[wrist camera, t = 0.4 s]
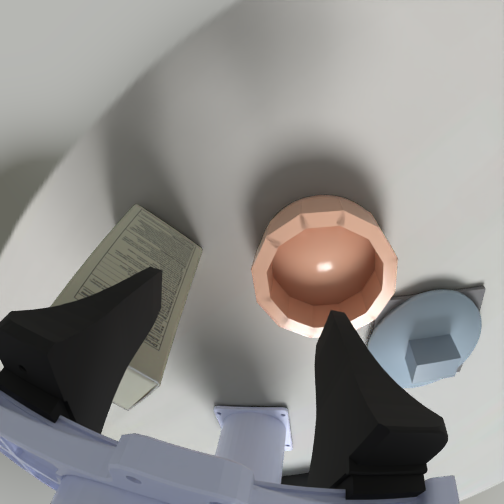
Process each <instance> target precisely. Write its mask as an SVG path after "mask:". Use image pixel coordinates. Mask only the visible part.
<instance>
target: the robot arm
mask: <svg viewBox="0 0 504 504" xmlns="http://www.w3.org/2000/svg"><path fill="white" fill-rule="evenodd" d="M162 272H163V270H160V269H156V268H153V267H148V268H146V269H144V270H142V271H140V272H138V273H136V274H134V275H132V276H131V277H129V278H127V279H125V280H123V281H121V282H119V283H117V284H115V285H113V286H111V287H109V288H107V289H104V290H102V291H100V292H98V293H96V294H93V295H91V296H88V297H85V298H82V299H79V300H76V301H73V302H69V303H65V304H62V305H58V306H53V307H48V308H42V309H35V310H23V311H11V312H10V313H9V314H8V315H7V316H6V317H5V318H4V319H3V320H2V321H1V322H0V360H1V362H2V364H3V366H4V368H3V369H2V370H1V372H0V452H2V453H3V454H4V455H5V456H6V457H8V458H9V459H10V460H12V461H13V462H14V463H16V464H17V465H18V466H20V467H21V468H23V469H24V470H25V471H27V472H28V473H30V474H31V475H32V476H34V477H35V478H37V479H38V480H40V481H41V482H43V483H45V484H46V485H48V486H49V487H51V488H52V489H54V490H56V493H55V495H54V497H53V499H52V501H51V503H50V504H460V503H459V497H458V492H457V486H456V481H455V476H453V475H451V476H443V477H435V478H430V479H427V480H425V481H424V475H423V474H425V473H426V472H427V464H426V463H427V462H428V461H430V460H431V459H432V458H433V457H434V456H435V455H437V454H438V453H439V452H440V451H441V450H442V449H443V448H444V447H445V445H446V443H447V441H448V434H447V431H446V427H445V424H444V420H443V418H442V417H441V416H439V415H437V414H436V413H434V412H433V411H431V410H430V409H428V408H426V407H425V406H424V405H422V404H421V403H420V402H418V401H417V400H416V399H414V398H413V397H412V396H411V395H409V394H408V393H407V392H406V391H405V390H404V389H403V388H402V387H401V386H399V385H398V384H397V383H396V382H395V381H394V380H393V379H392V378H391V377H390V376H389V374H388V373H387V372H386V371H385V370H384V369H383V368H382V367H381V365H380V364H379V363H378V362H377V360H376V359H375V358H374V356H373V355H372V354H371V352H370V351H369V349H368V348H367V347H366V345H365V344H364V342H363V341H362V339H361V338H360V336H359V335H358V333H357V331H356V330H355V328H354V327H353V325H352V323H351V322H350V320H349V319H348V317H347V315H346V314H345V312H340V311H335V310H331V311H330V313H329V316H328V318H327V321H326V323H325V325H324V328H323V330H322V333H321V335H320V337H319V340H318V342H317V345H316V354H315V386H316V426H315V436H314V444H313V452H312V459H311V465H310V471H309V476H308V481H307V486H306V487H302V486H292V485H284V484H281V478H282V469H283V460H284V451H290V450H292V449H293V446H292V438H291V430H290V423H289V415H288V409H287V408H285V407H232V406H215V407H214V412H215V415H216V417H217V420H218V422H219V424H220V427H221V429H222V430H221V434H220V438H219V442H218V446H217V450H216V454H215V456H214V455H210V454H206V453H202V452H198V451H195V450H191V449H187V448H184V447H180V446H177V445H174V444H171V443H167V442H164V441H161V440H158V439H155V438H152V437H149V436H145V435H140V434H136V433H133V434H125V435H122V436H121V438H120V440H119V442H118V441H116V440H113V439H111V438H108V437H106V436H104V435H101V432H102V429H103V426H104V423H105V420H106V417H107V414H108V412H109V409H110V406H111V404H112V401H113V399H114V396H115V394H116V391H117V389H118V387H119V384H120V382H121V380H122V378H123V376H124V373H125V371H126V369H127V367H128V366H129V364H130V362H131V360H132V359H133V357H134V356H135V354H136V353H137V351H138V349H139V348H140V346H141V345H142V343H143V342H144V340H145V338H146V337H147V335H148V334H149V332H150V330H151V329H152V327H153V325H154V323H155V321H156V319H157V317H158V314H159V312H160V310H161V300H162Z"/></svg>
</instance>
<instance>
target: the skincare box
mask: <svg viewBox="0 0 504 504" xmlns="http://www.w3.org/2000/svg"><path fill="white" fill-rule="evenodd" d="M201 254H202V248H201V247H199V246H198V245H196V244H195V243H194V242H192V241H191V240H189V239H188V238H187V237H185V236H184V235H182V234H181V233H179V232H178V231H177V230H175V229H174V228H172V227H171V226H169V225H168V224H166V223H165V222H164V221H162V220H161V219H159V218H157V217H156V216H155V215H153V214H151V213H150V212H148V211H147V210H145V209H144V208H142V207H141V206H139V205H138V204H135V205H134V206H133V207H132V208H131V209H130V210H129V211H128V212H127V213H126V215H125V216H124V217H123V218H122V219H121V220H120V221H119V222H118V223H117V225H116V226H115V227H114V228H113V229H112V230H111V231H110V233H109V234H108V235H107V236H106V237H105V238H104V239H103V241H102V242H101V243H100V244H99V245H98V247H97V248H96V249H95V250H94V251H93V253H92V254H91V255H90V256H89V257H88V259H87V260H86V261H85V262H84V264H83V265H82V266H81V267H80V269H79V270H78V271H77V272H76V274H75V275H74V276H73V277H72V279H71V280H70V281H69V283H68V284H67V285H66V287H65V288H64V289H63V290H62V292H61V293H60V294H59V296H58V297H57V298H56V300H55V301H54V302H53V304H52V305H51V306H50V307H53V306H58V305H62V304H65V303H69V302H73V301H76V300H79V299H82V298H85V297H88V296H91V295H93V294H96V293H98V292H100V291H102V290H104V289H107V288H109V287H111V286H113V285H115V284H117V283H119V282H121V281H123V280H125V279H127V278H129V277H131V276H132V275H134V274H136V273H138V272H140V271H142V270H144V269H146V268H148V267H153V268H156V269H160V270H163V272H162V300H161V310H160V312H159V314H158V317H157V319H156V321H155V323H154V325H153V327H152V329H151V330H150V332H149V334H148V335H147V337H146V338H145V340H144V342H143V343H142V345H141V346H140V348H139V349H138V351H137V353H136V354H135V356H134V357H133V359H132V360H131V362H130V364H129V366H128V367H127V369H126V371H125V373H124V376H123V378H122V380H121V382H120V384H119V387H118V389H117V391H116V394H115V396H114V399H113V401H112V403H114V404H116V405H118V406H120V407H122V408H124V409H125V410H128V411H129V410H130V409H132V408H133V407H134V406H136V405H137V404H138V403H140V402H141V401H142V400H144V399H145V398H146V397H147V396H149V395H150V394H151V393H152V392H153V391H155V390H156V389H157V388H158V387H159V386H160V384H161V380H162V377H163V373H164V370H165V366H166V363H167V360H168V356H169V353H170V350H171V347H172V343H173V340H174V337H175V333H176V330H177V327H178V323H179V320H180V317H181V314H182V311H183V308H184V305H185V302H186V299H187V296H188V292H189V289H190V286H191V283H192V280H193V278H194V275H195V271H196V268H197V265H198V262H199V259H200V256H201Z"/></svg>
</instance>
